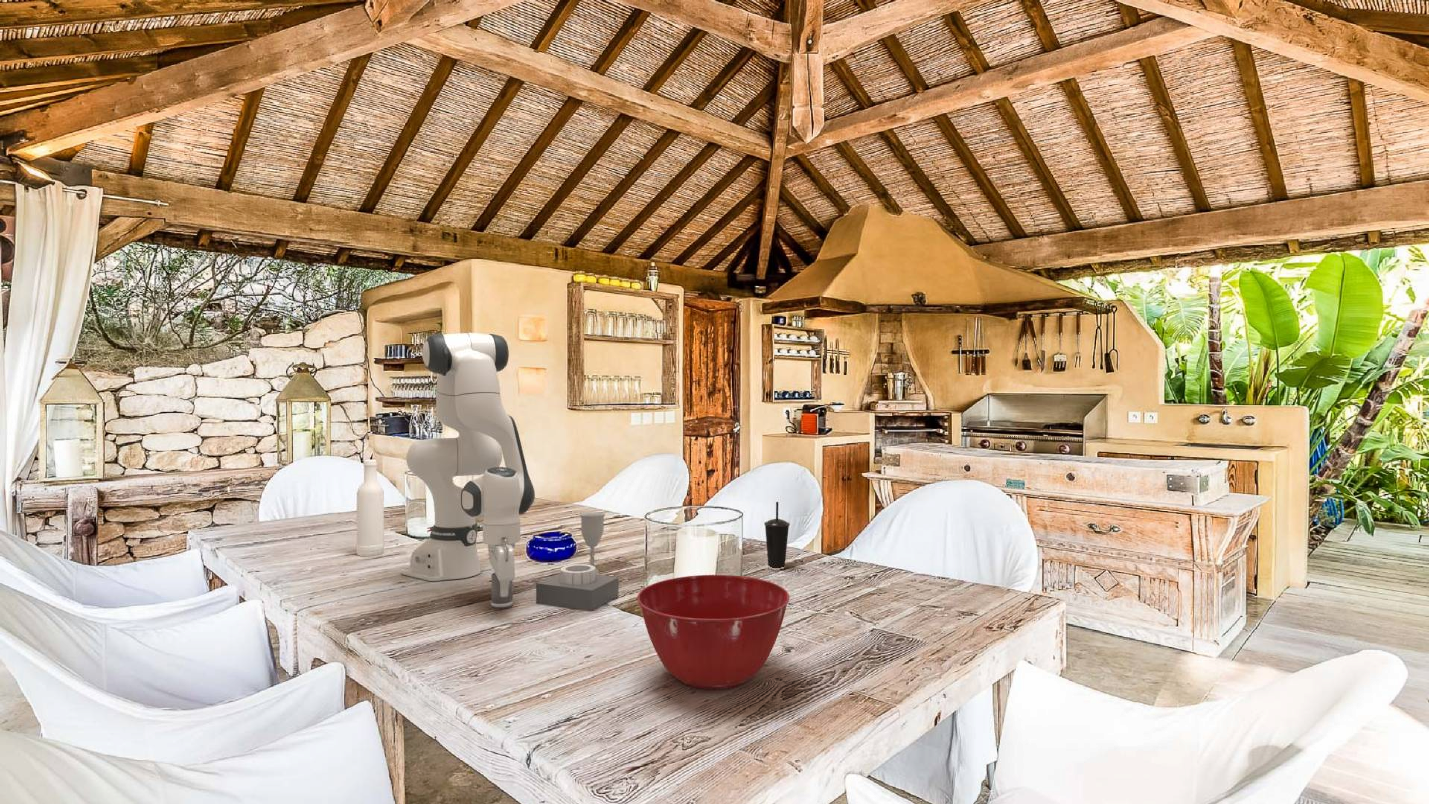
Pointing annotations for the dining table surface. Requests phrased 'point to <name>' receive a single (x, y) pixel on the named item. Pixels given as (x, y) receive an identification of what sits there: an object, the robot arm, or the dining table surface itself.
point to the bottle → (370, 513)
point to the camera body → (577, 588)
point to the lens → (496, 599)
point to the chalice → (592, 531)
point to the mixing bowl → (713, 626)
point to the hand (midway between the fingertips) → (501, 591)
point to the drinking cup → (776, 541)
